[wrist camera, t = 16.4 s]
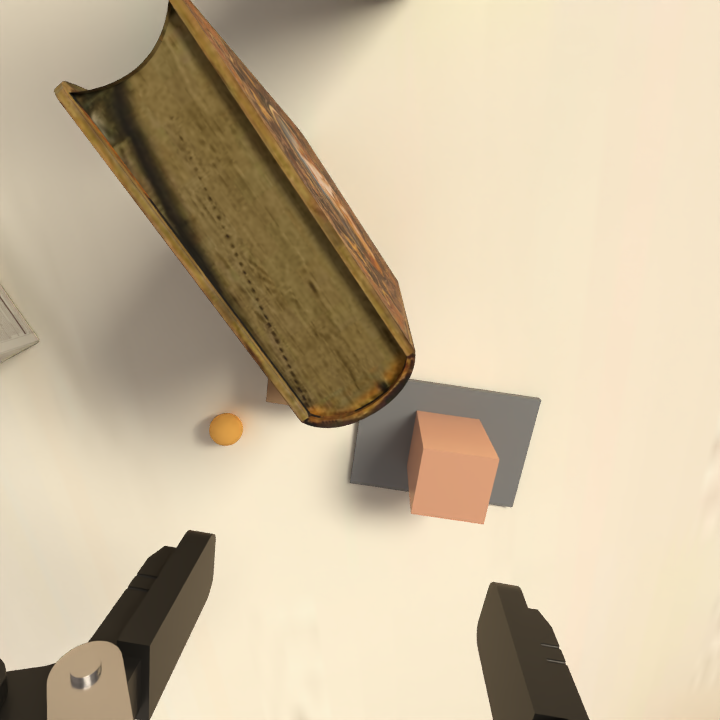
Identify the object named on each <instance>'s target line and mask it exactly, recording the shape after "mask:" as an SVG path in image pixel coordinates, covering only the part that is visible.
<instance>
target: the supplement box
mask: <svg viewBox="0 0 720 720" xmlns="http://www.w3.org/2000/svg"><path fill="white" fill-rule="evenodd" d="M38 342H39V339H38V337H37V336H36V335H35V333H34V332H33V330H32V329H31V328H30V326H29V325H28V323H27V322H26V321H25V319H24V318H23V316H22V315H21V313H20V312H19V311H18V309H17V308H16V306H15V305H14V303H13V302H12V301H11V299H10V298H9V296H8V295H7V294H6V292H5V291H4V289H3V288H2V286H1V285H0V363H1V362H3V361H5V360H7V359H9V358H10V357H12V356H14V355H16V354H18V353H20V352H21V351H23V350H25V349H27V348H29V347H31V346H32V345H34V344H36V343H38Z"/></svg>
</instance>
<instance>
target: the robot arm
mask: <svg viewBox="0 0 720 720" xmlns="http://www.w3.org/2000/svg"><path fill="white" fill-rule="evenodd" d="M215 542H216V537H215V534H210V533H204V532H198V531H192V530H189V531H187V532H186V534H185V535H184V537H183V538H182V540H181V541H180V543H179V545H178V546H177V548H174V547H168V546H164V547H163V548H161V549H160V550H159V551H157V552H156V553H154V554H153V555H152V556H150V557H149V558H148V559H147V560H146V562H145V563H144V565H143V566H142V567H141V569H140V570H139V572H138V573H137V576H135V577H134V579H133V580H132V582H131V583H130V584H129V586H128V589H126V590H125V591H124V593H123V594H122V596H121V597H120V598H119V600H118V601H117V603H116V604H115V606H114V607H113V608H112V610H111V611H110V613H109V614H108V615H107V617H106V618H105V620H104V621H103V622H102V624H101V625H100V627H99V628H98V630H97V631H96V632H95V634H94V635H93V637H92V638H91V639H90V640H89V642H88V643H85V644H82V645H79V646H77V647H75V648H74V649H72V650H70V651H69V652H67V653H66V654H65V655H63V656H62V657H61V658H60V659H59V660H58V661H57V662H56V663H54V664H51V665H47V666H42V667H36V668H29V669H22V670H15V671H8V672H6V668H5V664H4V663H3V661H2V660H1V659H0V720H135V719H136V720H150V718H151V716H152V714H153V712H154V710H155V708H156V706H157V704H158V701H159V699H160V697H161V695H162V693H163V691H164V689H165V687H166V685H167V682H168V680H169V678H170V676H171V674H172V672H173V670H174V668H175V666H176V664H177V661H178V659H179V657H180V655H181V653H182V651H183V649H184V647H185V645H186V643H187V640H188V638H189V636H190V634H191V632H192V630H193V628H194V626H195V624H196V621H197V619H198V617H199V615H200V613H201V611H202V609H203V607H204V605H205V603H206V600H207V598H208V595H209V592H210V589H211V585H212V581H213V572H214V557H215ZM477 646H478V651H479V656H480V661H481V665H482V670H483V675H484V679H485V684H486V689H487V693H488V698H489V703H490V707H491V712H492V717H493V720H589V718H588V715H587V713H586V710H585V708H584V705H583V703H582V700H581V698H580V696H579V693H578V691H577V688H576V686H575V683H574V681H573V678H572V676H571V673H570V671H569V669H568V666H567V665H566V664H565V662H566V661H565V659H564V656H563V654H562V651H561V650H560V649H559V644H558V642H557V639H556V637H555V634H554V632H553V629H552V627H551V626H550V624H549V623H548V622H547V621H546V620H545V618H544V617H543V616H542V615H541V613H540V612H539V611H538V610H536V609H530V608H528V607H527V604H526V601H525V599H524V596H523V593H522V591H521V589H520V587H518V586H514V585H508V584H502V583H496V582H492V583H491V584H490V585H489V588H488V591H487V595H486V598H485V601H484V604H483V608H482V611H481V614H480V618H479V621H478V626H477Z"/></svg>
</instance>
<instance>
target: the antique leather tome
mask: <svg viewBox="0 0 720 720" xmlns="http://www.w3.org/2000/svg"><path fill="white" fill-rule="evenodd" d="M54 92H55V95H56V97H57V98H58V100H59V101H60V103H61V104H62V105H63V107H64V108H65V109H66V111H67V112H68V113H69V115H70V116H71V117H72V119H73V120H74V121H75V123H76V124H77V125H78V127H79V128H80V129H81V131H82V132H83V133H84V134H85V136H86V137H87V138H88V140H89V141H90V142H91V144H92V145H93V146H94V148H95V149H96V150H97V152H98V153H99V154H100V156H101V157H102V158H103V160H104V161H105V162H106V164H107V165H108V166H109V168H110V169H111V170H112V172H113V173H114V174H115V176H116V177H117V178H118V180H119V181H120V182H121V184H122V185H123V186H124V188H125V189H126V190H127V191H128V193H129V194H130V195H131V197H132V198H133V199H134V201H135V202H136V203H137V205H138V206H139V207H140V209H141V210H142V211H143V213H144V214H145V215H146V217H147V218H148V219H149V221H150V222H151V223H152V225H153V226H154V227H155V229H156V230H157V231H158V233H159V234H160V235H161V237H162V238H163V239H164V241H165V242H166V243H167V245H168V246H169V247H170V249H171V250H172V251H173V253H174V254H175V255H176V256H177V258H178V259H179V260H180V262H181V263H182V264H183V266H184V267H185V268H186V270H187V271H188V272H189V274H190V275H191V276H192V278H193V279H194V280H195V282H196V283H197V284H198V286H199V287H200V288H201V290H202V291H203V292H204V294H205V295H206V296H207V298H208V299H209V300H210V302H211V303H212V304H213V306H214V307H215V308H216V310H217V311H218V312H219V314H220V315H221V316H222V318H223V319H224V320H225V321H226V323H227V324H228V325H229V327H230V328H231V329H232V331H233V332H234V333H235V335H236V336H237V337H238V339H239V340H240V341H241V343H242V344H243V345H244V347H245V348H246V349H247V351H248V352H249V353H250V355H251V356H252V357H253V359H254V360H255V361H256V363H257V364H258V365H259V367H260V368H261V369H262V371H263V372H264V373H265V375H266V376H267V377H268V379H269V380H270V381H271V383H272V384H273V385H274V386H275V388H276V389H277V390H278V392H279V393H280V394H281V396H282V397H283V398H284V400H285V401H286V402H287V404H288V405H289V406H290V408H291V409H292V410H293V412H294V413H295V414H296V416H297V417H298V418H299V420H300V421H301V422H302V423H304V424H307V425H310V426H314V427H320V428H334V427H341V426H346V425H349V424H352V423H355V422H358V421H360V420H362V419H365V418H367V417H369V416H370V415H372V414H374V413H376V412H377V411H379V410H380V409H382V408H383V407H385V406H386V405H387V404H389V403H390V402H391V401H392V400H393V399H394V398H395V397H396V396H397V395H398V394H399V393H400V392H401V390H402V389H403V388H404V386H405V385H406V383H407V382H408V380H409V378H410V376H411V374H412V371H413V368H414V363H415V348H414V344H413V340H412V336H411V332H410V328H409V324H408V320H407V316H406V312H405V308H404V304H403V300H402V296H401V292H400V288H399V284H398V281H397V279H396V278H395V276H394V275H393V273H392V272H391V270H390V268H389V267H388V265H387V264H386V262H385V261H384V259H383V258H382V256H381V255H380V253H379V251H378V250H377V248H376V247H375V245H374V244H373V242H372V241H371V239H370V238H369V236H368V234H367V233H366V231H365V230H364V228H363V227H362V225H361V224H360V222H359V221H358V219H357V217H356V216H355V214H354V213H353V211H352V210H351V208H350V207H349V205H348V204H347V202H346V200H345V199H344V197H343V196H342V194H341V193H340V191H339V190H338V188H337V187H336V185H335V183H334V182H333V180H332V179H331V177H330V176H329V174H328V173H327V171H326V170H325V168H324V166H323V165H322V163H321V162H320V160H319V159H318V157H317V156H316V154H315V153H314V151H313V149H312V148H311V146H310V145H309V143H308V142H307V140H306V139H305V137H304V136H303V134H302V133H301V132H300V130H299V129H298V128H297V127H296V125H295V124H294V123H293V122H292V121H291V119H290V118H289V117H288V116H287V115H286V114H285V112H284V111H283V110H282V109H281V108H280V106H279V105H278V104H277V103H276V102H275V101H274V99H273V98H272V97H271V96H270V95H269V93H268V92H267V91H266V90H265V89H264V87H263V86H262V85H261V84H260V83H259V82H258V80H257V79H256V78H255V77H254V76H253V74H252V73H251V72H250V71H249V70H248V69H247V67H246V66H245V65H244V64H243V63H242V61H241V60H240V59H239V58H238V57H237V56H236V54H235V53H234V52H233V51H232V50H231V48H230V47H229V46H228V45H227V44H226V42H225V41H224V40H223V39H222V38H221V37H220V35H219V34H218V33H217V32H216V31H215V29H214V28H213V27H212V26H211V25H210V24H209V22H208V21H207V20H206V19H205V18H204V16H203V15H202V14H201V13H200V12H199V10H198V9H197V8H196V7H195V6H194V5H193V3H192V2H191V1H190V0H169V3H168V10H167V15H166V20H165V23H164V27H163V30H162V32H161V35H160V37H159V39H158V41H157V43H156V45H155V47H154V48H153V50H152V51H151V53H150V54H149V55H148V57H147V58H146V59H145V60H144V61H143V62H142V63H141V64H140V65H139V66H138V67H137V68H136V69H135V70H133V71H132V72H131V73H129V74H128V75H126V76H125V77H123V78H121V79H119V80H117V81H115V82H113V83H111V84H108V85H105V86H103V87H99V88H95V89H92V90H87V89H84V88H82V87H80V86H77V85H75V84H72V83H69V82H66V81H63V82H62V83H61V84H60V85H59V86H58V87H56V88H55V90H54Z"/></svg>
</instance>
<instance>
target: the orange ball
mask: <svg viewBox="0 0 720 720" xmlns="http://www.w3.org/2000/svg"><path fill="white" fill-rule="evenodd" d="M209 432H210V436H211V438H212V439H213V441H214V442H216V443H217V444H219V445H223V446H228V445H232V444H234V443H235V442H237V441H238V440H239V439H240V437H241V435H242V432H243V426H242V423H241V421H240V419H239V418H238V417H237V416H235V415H233V414H230V413H224V414H220V415H218V416H217V417H215V418H214V419H213V421H212V422H211V424H210V428H209Z"/></svg>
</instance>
